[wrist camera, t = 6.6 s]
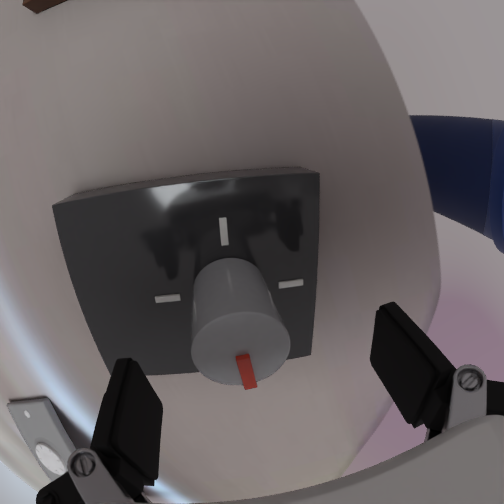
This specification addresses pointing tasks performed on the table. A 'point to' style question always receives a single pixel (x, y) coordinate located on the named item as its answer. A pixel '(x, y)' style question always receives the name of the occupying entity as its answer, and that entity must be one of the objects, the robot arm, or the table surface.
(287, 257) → the dark grey dial base
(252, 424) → the table surface
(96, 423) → the robot arm
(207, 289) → the knob
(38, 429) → the light switch
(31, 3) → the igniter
